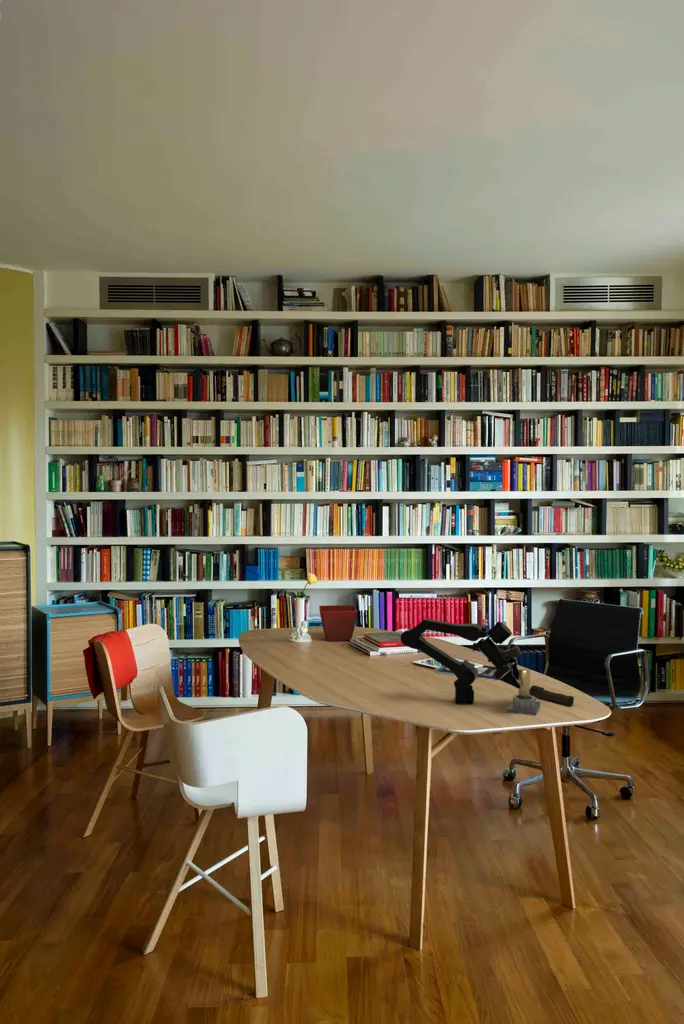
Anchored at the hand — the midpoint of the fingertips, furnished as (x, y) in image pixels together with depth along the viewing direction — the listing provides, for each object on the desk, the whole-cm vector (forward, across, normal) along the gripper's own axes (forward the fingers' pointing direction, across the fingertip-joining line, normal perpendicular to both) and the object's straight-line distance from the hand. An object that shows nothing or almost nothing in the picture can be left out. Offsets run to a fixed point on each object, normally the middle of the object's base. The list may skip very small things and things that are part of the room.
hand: (521, 684), depth 282 cm
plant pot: (-70, +97, +85) cm, 147 cm away
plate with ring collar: (+7, 0, +5) cm, 9 cm away
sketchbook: (-12, +51, +26) cm, 58 cm away
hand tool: (+12, +14, 0) cm, 19 cm away
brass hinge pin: (+6, 0, +5) cm, 8 cm away
